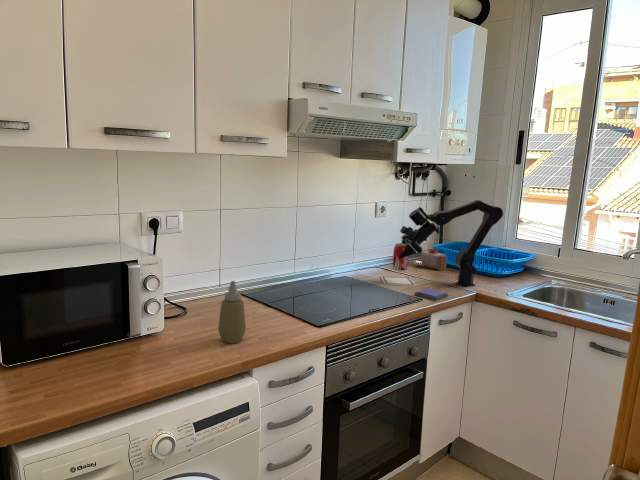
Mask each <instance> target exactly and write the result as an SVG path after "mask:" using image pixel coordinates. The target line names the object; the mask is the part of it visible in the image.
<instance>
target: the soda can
mask: <svg viewBox="0 0 640 480" xmlns="http://www.w3.org/2000/svg"><path fill="white" fill-rule="evenodd" d="M406 245H407V244H403V243H402V242H399V243H398V242H397V243H395V245H394V247H393V253H392V255H393V256H392V270H394V271H397V272H406V271H407V270H408V269H409V258H410V255H409V256H406V257H403V258H399V256H400V254H401V253H402V252H403V251H404V250H405V248H406Z"/></svg>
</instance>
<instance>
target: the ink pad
mask: <svg viewBox="0 0 640 480" xmlns="http://www.w3.org/2000/svg"><path fill="white" fill-rule="evenodd" d="M414 296H416V297H420V298H423V299H427V300H430V301H434V302H437V301H440V300H442V299H445V298H448V297H449V293H447V292H443V291H439V290H437V289H436V290H435V289H433V288H428V287H427V288H424V289H422V290H419V291H415V292H414Z"/></svg>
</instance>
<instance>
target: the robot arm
mask: <svg viewBox="0 0 640 480" xmlns="http://www.w3.org/2000/svg"><path fill="white" fill-rule="evenodd" d="M475 211H479V212H482V213H483V215H482V220H481V221H482V222H481V223H480V225H479V227H478V228H477V230H476V232H475V234H474V235H473V236H472V238H471V239H470V241H469V243H468V245H467V246H466V248H465V249H463V250H462V249H460V250H458V253H457V254H456V255H455V260H454V261H455V264H456V266H457V268H458V269H459V274H458V279H457V281H456V282H455V284H456V285H459V286H462V287H474V286H476V284H475V283H474V279H475V278H474V276H475V274H476V273H477V268H476V267H475V266H474V265H473V264H474V262H475V258H476V257H475V256H476V253H477V252H478V250H479V248H480V246H481V245H482V243H483V241H484V240H485V238H486V237H487V235H488V233H489V232H490V230H491V228H492V227H493V226H495V224H497V223H498V222H499V221H500V220H501V219H502V217H503V216H504V211H503V209H502V208H501V207H499V206H495V205H490V204H488V203H485V202H484V201H482V200H478V199H475V200H473V201H471V202H469V203H465V204H463V205H460V206H457V207H455V208H451V209H447V210H439V211H435V212H434V213H431V214H427V213H426V212H425V211H424V209H423V207H421V206H419V207H418V208H416V209H414V210H412V212H410V213H409V215H408V217H409V219H410V220H411V221H412V222H413V223H414V224H415V225H416V226H420V227H419V228H417V229H414V228H413V227H411V226H409V227H406V226H405V225H403V226H402V227H401V229H400V231H399V232H400V233H401V234H403V235H402V236H401V238H400V239H401V243H403V244H407V245H406V248H405V250H404V251H403V252H402V253H401V254H400V256H399V258H403V257H406V256H409V257H410V256H412V255H417V254H418V255H420V254H422V252H423V247H422V246H421V244H422V243H424V242H427V240H428V238H429V237H430V236H431V235H432V234H434V233H436V234H438V235H439V234H440V229H441V228H440V227H441V226H442V227H443V226H445V225H446V224H449V223H451V221H453V220H454V219H456V218H458V217H461V216H464V215H467V214H470V213H472V212H473V213H474V212H475ZM436 225H437V226H436ZM439 226H440V227H439Z"/></svg>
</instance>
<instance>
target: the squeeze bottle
mask: <svg viewBox="0 0 640 480" xmlns="http://www.w3.org/2000/svg"><path fill="white" fill-rule="evenodd" d="M241 293H242V292H239V291H238V289H237V284H236V281H235V280H231V281H230V285H229V289H228V291H227V292H225V293H224V299H223V300H222V301H221V303H220V310H219V311H220V312H219V321H218V330H217V331H218V333H219V336H220V339H221V342H223V343H225V344H237V343H240V342H242V341H243V338H244V336H245V333H246V330H247V329H246V327H247V326H246V315H245V314H246V313H245V302H244V300H242V299H241V298H242V297H241V295H242V294H241Z"/></svg>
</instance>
